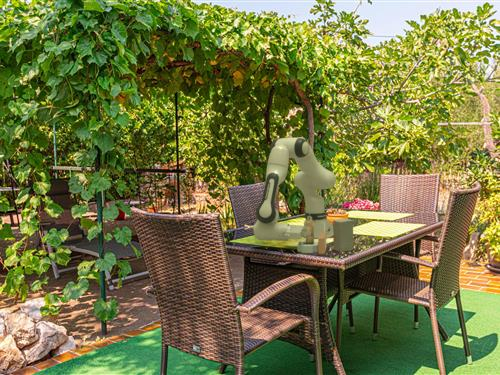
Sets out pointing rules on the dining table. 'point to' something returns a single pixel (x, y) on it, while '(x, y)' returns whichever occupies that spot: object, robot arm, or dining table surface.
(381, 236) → the dining table surface
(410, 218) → the dining table surface
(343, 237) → the skincare box
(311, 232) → the dowel
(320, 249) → the wall
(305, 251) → the block
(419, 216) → the dining table surface
